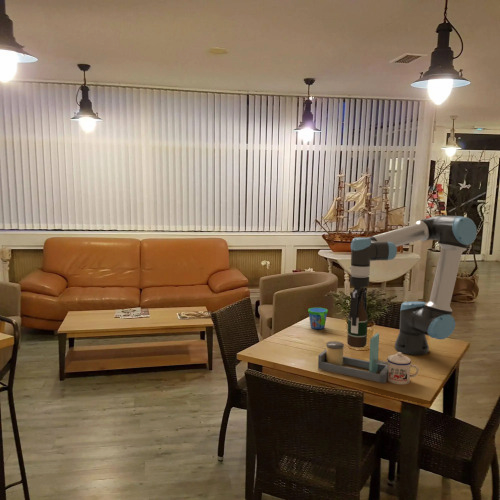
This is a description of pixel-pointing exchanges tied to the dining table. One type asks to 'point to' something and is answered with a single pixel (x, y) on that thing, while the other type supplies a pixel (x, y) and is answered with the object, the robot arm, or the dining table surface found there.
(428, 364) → the dining table surface
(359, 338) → the beer bottle
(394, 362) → the teacup with lid
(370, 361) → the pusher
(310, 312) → the snack cup
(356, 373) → the tray
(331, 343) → the jar
